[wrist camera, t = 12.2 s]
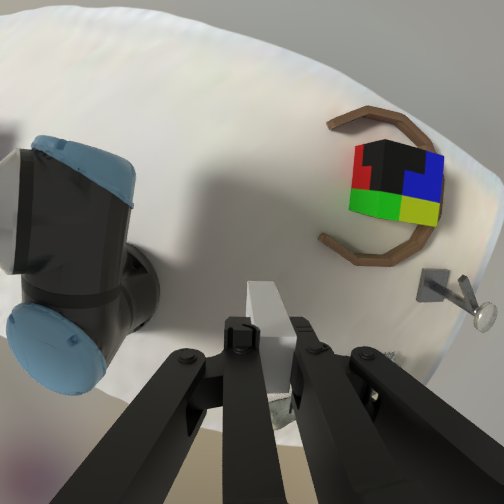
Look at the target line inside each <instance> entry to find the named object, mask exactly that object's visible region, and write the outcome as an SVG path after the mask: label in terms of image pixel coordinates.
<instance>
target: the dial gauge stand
mask: <svg viewBox="0 0 504 504" xmlns="http://www.w3.org/2000/svg"><path fill="white" fill-rule="evenodd" d="M448 276H449V270H447V269H422V273H421V279H420V284H419V289H418V293H417V298H416V300H417V301H418V302H440V301H443V299H444V297H445V298H446V299H448V300H449V301H451V302H453V303H454V304H456V305H457V306H459V307H460V308H462V309H464V310H465V311H467V312H468V313H470V314H472V315H473V316H474V327H475V328H476V329H478V330H479V331H480V332H483V333H484V332H486V331H488V330H489V329H490V328H491V327H492V326H493V324H494V322H495V320H496V317H497V307H496V306H495V305H493V304H492V303H490V302H485V303H483V304H482V305H481V306H480V307H479V306H478V304H477V301H476V298H475V295H474V292H473V290H472V287H471V284H470V282H469V279H468V277H467V276H465V275H462V276H461V277H460V278H459V279H458V282H459V285H460V287H461V290H462V292H463V295H464V297H465V298H463V297H461V296H460V295H458V294H456V293H454V292H453V291H451V290H449V289H447V288H446V286H447V281H448Z"/></svg>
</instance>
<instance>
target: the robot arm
mask: <svg viewBox="0 0 504 504" xmlns="http://www.w3.org/2000/svg"><path fill="white" fill-rule="evenodd" d="M31 147H32V148H31V149H32V150H28V149H18V148H15V149H14V150H13V151H12V152H11V153H9V154H8V155H7V156H6V157H5V158H4V159H3V160H2V161H0V267H1V268H2V269H3V271H4V272H5V273H6V274H8V275H15V274H21V283H22V303H21V304H19V305H17V306H15V307H14V308H13V310H12V313H11V314H10V315H9V317H8V319H7V324H6V335H7V340H8V343H9V346H10V348H11V351H12V353H13V355H14V356H15V358H16V359H17V361H18V362H19V364H20V365H21V367H22V368H23V369H24V370H25V371H26V372H28V374H29V375H30V376H31V377H32V378H33V379H34V380H36V381H37V382H38V383H40V384H41V385H43V386H44V387H46V388H48V389H50V390H52V391H54V392H57V393H60V394H63V395H71V396H76V395H81V394H83V393H86V392H89V391H90V390H92V388H94V387H95V385H96V384H97V383H98V382H99V381H100V380H101V379H102V377H104V375H105V373H106V369H107V368H108V366H109V364H110V363H111V361H112V359H113V357H114V356H115V354H116V352H117V351H118V349H119V347H120V346H121V344H122V342H123V341H124V339H125V337H126V336H127V335H129V334H131V333H133V332H136V331H138V330H139V329H141V328H142V327H144V326H145V325H146V324H147V323H148V322H149V320H150V319H151V317H152V316H153V314H154V312H155V310H156V308H157V305H158V302H159V296H160V288H159V281H158V278H157V275H156V272H155V270H154V268H153V266H152V265H151V263H150V262H149V260H148V259H147V258H146V257H145V256H144V255H143V254H142V253H141V252H140V251H139V250H137V249H136V248H135V247H133V246H131V245H129V244H127V243H126V241H127V234H128V227H129V221H130V215H131V209H133V208H134V204H133V202H132V201H133V194H134V187H135V180H136V173H135V169H134V167H133V166H132V164H131V163H130V162H129V161H128V160H126V159H124V158H122V157H120V156H118V155H115V154H112V153H110V152H107V151H104V150H101V149H98V148H95V147H91V146H88V145H85V144H81V143H77V142H73V141H66V140H64V139H59V138H56V137H52V136H45V135H40V136H37V137H36V138H35V140H34V142H33V143H32V144H31ZM290 383H291V386H292V395H291V401H290V407H289V414H291V413H292V409H293V410H294V413H295V417H296V421H297V425H298V428H299V432H300V436H301V440H302V443H303V447H304V450H305V454H306V458H307V462H308V466H309V469H310V473H311V477H312V481H313V484H314V488H315V492H316V496H317V500H318V503H319V504H504V447H503V446H502V445H500V444H499V443H498V442H497V441H495V440H494V439H493V438H491V437H490V436H489V435H487V434H486V433H485V432H484V431H482V430H481V429H480V428H478V427H477V426H476V425H475V424H473V423H472V422H471V421H469V420H468V419H467V418H465V417H464V416H463V415H461V414H460V413H459V412H457V411H456V410H455V409H454V408H452V407H451V406H450V405H448V404H447V403H446V402H445V401H443V400H442V399H441V398H439V397H438V396H437V395H435V394H434V393H433V392H432V391H430V390H429V389H428V388H427V387H425V386H424V385H423V384H421V383H420V382H419V381H417V380H416V379H415V378H414V377H412V376H411V375H410V374H408V373H407V372H406V371H404V370H403V369H402V368H401V367H399V366H398V365H397V364H395V363H394V362H393V361H392V360H390V359H389V358H388V357H386V356H385V355H384V354H382V353H381V352H380V351H378V350H376V349H374V348H371V347H366V346H363V347H357V348H355V349H353V350H352V352H351V356H342V355H336V354H334V352H333V350H332V349H331V347H330V346H329V345H327V344H325V343H323V342H320V341H319V339H318V338H317V336H316V334H315V332H314V330H313V328H312V326H311V325H310V323H309V321H308V320H306V319H305V318H303V317H289V316H288V314H287V311H286V309H285V307H284V304H283V302H282V299H281V297H280V295H279V292H278V290H277V287H276V285H275V283H274V281H248V282H247V301H246V317H229V318H228V319H227V320H226V321H225V330H224V350H223V351H222V352H221V353H220V354H218V355H216V356H213V357H207V358H206V357H205V355H204V354H203V353H202V352H200V351H199V350H195V349H189V348H185V349H184V348H183V349H179V350H176V351H174V352H172V353H171V354H170V355H169V356H168V358H167V359H166V360H165V361H164V363H163V364H162V365H161V366H160V368H159V369H158V370H157V371H156V372H155V374H154V375H153V376H152V377H151V379H150V380H149V381H148V382H147V384H146V385H145V386H144V387H143V388H142V390H141V391H140V392H139V393H138V395H137V396H136V397H135V398H134V400H133V401H132V402H131V403H130V405H129V406H128V407H127V408H126V410H125V411H124V412H123V413H122V414H121V416H120V417H119V418H118V419H117V421H116V422H115V423H114V424H113V425H112V427H111V428H110V429H109V430H108V432H107V433H106V434H105V435H104V437H103V438H102V439H101V440H100V441H99V443H98V444H97V445H96V446H95V448H94V449H93V450H92V451H91V453H90V454H89V455H88V456H87V458H86V459H85V460H84V461H83V462H82V464H81V465H80V466H79V467H78V469H77V470H76V471H75V472H74V473H73V475H72V476H71V477H70V479H69V480H68V481H67V482H66V483H65V485H64V486H63V487H62V488H61V489H60V491H59V492H58V493H57V495H56V496H55V497H54V498H53V499H52V500H51V502H50V503H49V504H163V502H164V500H165V499H166V497H167V495H168V492H169V490H170V488H171V486H172V484H173V482H174V480H175V478H176V476H177V474H178V472H179V470H180V468H181V466H182V464H183V462H184V460H185V458H186V456H187V454H188V452H189V449H190V447H191V445H192V443H193V441H194V439H195V437H196V435H197V433H198V431H199V428H200V426H201V424H202V422H203V420H204V418H205V416H206V413H207V409H210V408H215V407H221V406H223V447H222V450H223V452H222V453H223V454H222V456H223V457H222V462H223V463H222V468H223V470H222V474H223V475H222V481H223V482H222V485H223V504H288V503H287V501H286V497H285V492H284V486H283V480H282V475H281V470H280V464H279V459H278V453H277V448H276V442H275V437H274V431H273V425H272V420H271V414H270V409H269V403H268V397H267V393H289V389H290ZM374 390H375V391H376V392H377V393H378V397H377V399H376V400H375V399H374V398H373V397H372V394H373V391H374Z"/></svg>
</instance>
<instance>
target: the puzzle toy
mask: <svg viewBox="0 0 504 504" xmlns="http://www.w3.org/2000/svg"><path fill="white" fill-rule="evenodd" d="M443 167H444V156H442V155H439V154H436V153H433V152H429V151H426V150H423V149H419V148H416V147H412V146H409V145H405V144H402V143H398V142H394V141H390V140H386V139H384V140H379V141H375V142H371V143H367V144H362V145H358V146H355V156H354V167H353V177H352V187H351V195H350V204H349V210H351V211H355V212H358V213H362V214H365V215H369V216H372V217H376V218H382V219H389V220H396V221H402V222H409V223H415V224H421V225H427V226H433V227H437V222H438V215H439V207H440V199H441V190H442V179H443Z"/></svg>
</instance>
